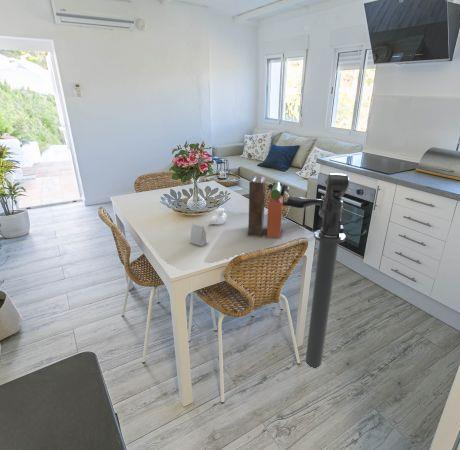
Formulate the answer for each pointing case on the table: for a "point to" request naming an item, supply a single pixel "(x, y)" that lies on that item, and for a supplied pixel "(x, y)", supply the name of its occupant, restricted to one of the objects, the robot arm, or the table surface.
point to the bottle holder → (274, 217)
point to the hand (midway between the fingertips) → (277, 184)
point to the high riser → (256, 205)
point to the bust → (218, 217)
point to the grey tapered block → (198, 235)
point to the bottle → (276, 191)
